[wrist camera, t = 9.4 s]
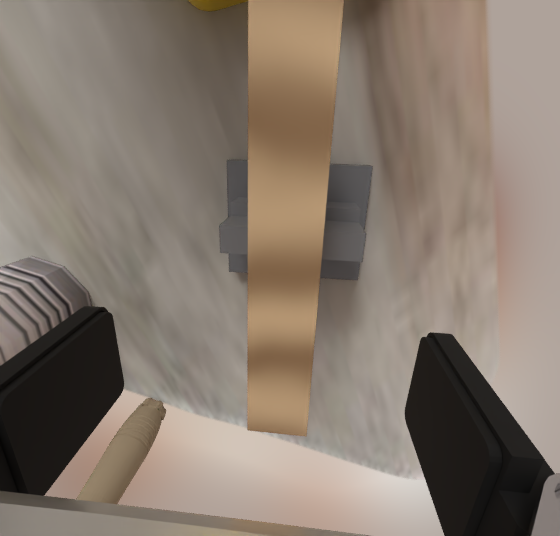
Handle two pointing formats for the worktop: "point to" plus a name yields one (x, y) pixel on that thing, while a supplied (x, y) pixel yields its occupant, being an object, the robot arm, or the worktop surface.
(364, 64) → the worktop surface
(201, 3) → the element tile
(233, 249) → the fulcrum stand
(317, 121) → the oak batten
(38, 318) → the can
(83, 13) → the worktop surface
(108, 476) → the handle
